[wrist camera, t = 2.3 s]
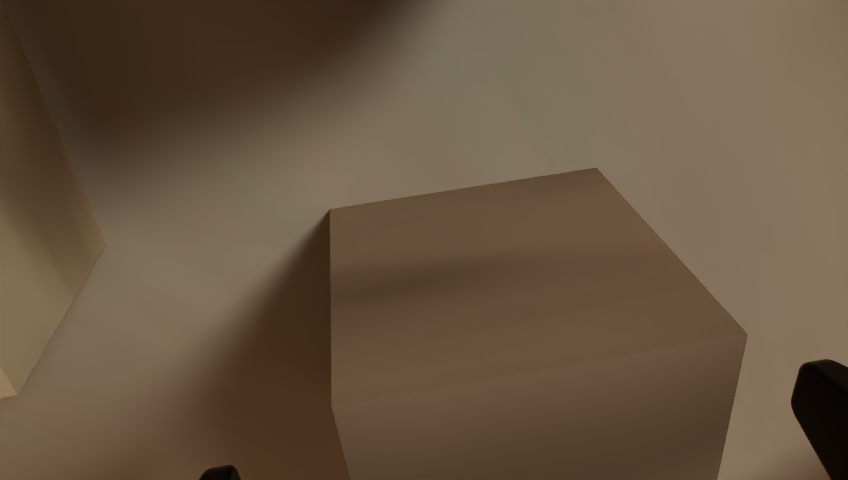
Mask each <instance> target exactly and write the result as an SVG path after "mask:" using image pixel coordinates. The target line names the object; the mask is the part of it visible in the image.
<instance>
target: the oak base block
mask: <svg viewBox="0 0 848 480" xmlns="http://www.w3.org/2000/svg"><path fill="white" fill-rule="evenodd" d="M105 245H106V243H105V241H104V238H103V236H102V234H101V231H100V229H99V227H98V224H97V222H96V220H95V217H94V215H93V213H92V211H91V208H90V206H89V204H88V201H87V199H86V197H85V194H84V192H83V190H82V187H81V185H80V183H79V180H78V178H77V176H76V174H75V171H74V169H73V167H72V164H71V162H70V160H69V157H68V155H67V153H66V150H65V148H64V146H63V143H62V141H61V139H60V137H59V134H58V132H57V130H56V127H55V125H54V123H53V120H52V118H51V116H50V113H49V111H48V109H47V106H46V104H45V102H44V100H43V97H42V95H41V93H40V90H39V88H38V86H37V83H36V81H35V79H34V76H33V74H32V72H31V69H30V67H29V65H28V63H27V60H26V58H25V56H24V53H23V51H22V49H21V46H20V44H19V42H18V39H17V37H16V35H15V32H14V30H13V28H12V26H11V23H10V21H9V19H8V16H7V14H6V12H5V9H4V7H3V5H2V2H1V0H0V398H4V397H10V396H16V395H18V394H19V392H20V390H21V389H22V387H23V385H24V384H25V382H26V380H27V378H28V377H29V375H30V373H31V372H32V370H33V368H34V367H35V365H36V363H37V361H38V360H39V358H40V356H41V355H42V353H43V351H44V349H45V348H46V346H47V344H48V343H49V341H50V339H51V337H52V336H53V334H54V332H55V331H56V329H57V327H58V326H59V324H60V322H61V320H62V319H63V317H64V315H65V314H66V312H67V310H68V308H69V307H70V305H71V303H72V302H73V300H74V298H75V297H76V295H77V293H78V291H79V290H80V288H81V286H82V285H83V283H84V281H85V279H86V278H87V276H88V274H89V273H90V271H91V269H92V268H93V266H94V264H95V262H96V261H97V259H98V257H99V256H100V254H101V252H102V250H103V249H104V247H105Z"/></svg>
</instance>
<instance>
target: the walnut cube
mask: <svg viewBox="0 0 848 480" xmlns="http://www.w3.org/2000/svg"><path fill="white" fill-rule="evenodd" d="M330 287H331V407H332V411H333V415H334V419H335V423H336V427H337V431H338V435H339V438H340V442H341V446H342V450H343V454H344V458H345V462H346V466H347V470H348V474H349V478H350V480H717V478H718V473H719V468H720V463H721V459H722V454H723V449H724V444H725V440H726V435H727V430H728V425H729V421H730V416H731V411H732V406H733V402H734V397H735V392H736V387H737V383H738V378H739V373H740V368H741V364H742V359H743V354H744V349H745V345H746V340H747V335H748V334H747V333H746V332H745V331H744V330H743V329H742V328H741V326H740V325H739V324H738V323H737V322H736V321H735V320H734V319H733V318H732V317H731V315H730V314H729V313H728V312H727V311H726V310H725V309H724V308H723V307H722V306H721V304H720V303H719V302H718V301H717V300H716V299H715V298H714V297H713V296H712V295H711V293H710V292H709V291H708V290H707V289H706V288H705V287H704V286H703V285H702V283H701V282H700V281H699V280H698V279H697V278H696V277H695V276H694V275H693V274H692V272H691V271H690V270H689V269H688V268H687V267H686V266H685V265H684V264H683V263H682V261H681V260H680V259H679V258H678V257H677V256H676V255H675V254H674V253H673V252H672V250H671V249H670V248H669V247H668V246H667V245H666V244H665V243H664V242H663V241H662V239H661V238H660V237H659V236H658V235H657V234H656V233H655V232H654V231H653V230H652V228H651V227H650V226H649V225H648V224H647V223H646V222H645V221H644V220H643V219H642V217H641V216H640V215H639V214H638V213H637V212H636V211H635V210H634V209H633V208H632V206H631V205H630V204H629V203H628V202H627V201H626V200H625V199H624V198H623V197H622V195H621V194H620V193H619V192H618V191H617V190H616V189H615V188H614V187H613V185H612V184H611V183H610V182H609V181H608V180H607V179H606V178H605V177H604V176H603V174H602V173H601V172H600V171H599V170H598V169H597V168H592V169H586V170H579V171H573V172H566V173H560V174H553V175H547V176H540V177H534V178H528V179H521V180H515V181H508V182H502V183H495V184H489V185H483V186H476V187H470V188H463V189H457V190H450V191H444V192H438V193H431V194H425V195H418V196H412V197H405V198H399V199H392V200H386V201H380V202H373V203H367V204H360V205H354V206H347V207H341V208H335V209H330Z"/></svg>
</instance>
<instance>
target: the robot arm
mask: <svg viewBox="0 0 848 480" xmlns="http://www.w3.org/2000/svg"><path fill="white" fill-rule="evenodd" d="M791 406H792V410H793V413H794V415H795V417H796V419H797V420H798V422H799V424H800V426H801V428H802V429H803V431H804V433H805V435H806V436H807V438H808V440H809V442H810V443H811V445H812V447H813V449H814V451H815V452H816V454H817V456H818V458H819V459H820V461H821V463H822V465H823V466H824V468H825V470H826V472H827V474H828V475H829V477H830V479H831V480H848V367H846V366H844V365H842V364H840V363H838V362H835V361H833V360H829V359H824V360H818V361H812V362H807V363H804V364H803V365H802V366H801V367H800V369H799V372H798V376H797V379H796V383H795V387H794V390H793V394H792V398H791ZM199 480H241V479H240V476H239V474H238V471H237V469H236V468H235V467H234V466H233V465H227V466H221V467H215V468H210V469H208V470H206V471H205V472H204V473H203V474H202V476H201V477H200V479H199Z"/></svg>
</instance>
